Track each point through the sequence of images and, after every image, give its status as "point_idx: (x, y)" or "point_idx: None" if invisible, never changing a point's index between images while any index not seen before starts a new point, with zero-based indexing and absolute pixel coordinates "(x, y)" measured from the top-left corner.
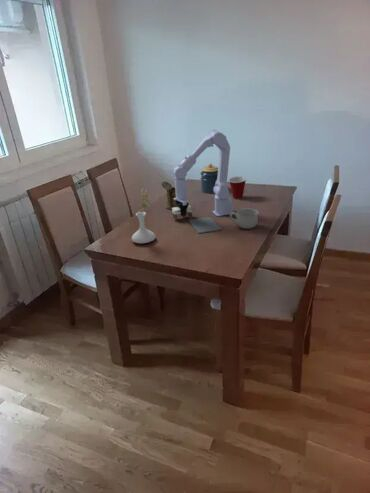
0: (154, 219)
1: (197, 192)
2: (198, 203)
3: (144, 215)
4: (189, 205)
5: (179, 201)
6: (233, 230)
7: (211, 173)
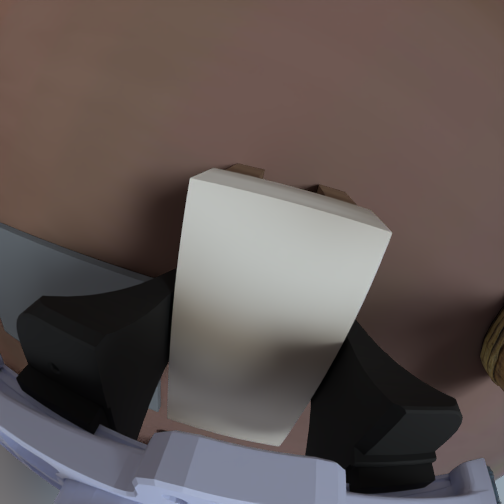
0: (429, 20)
1: (494, 455)
2: None
3: None
4: (272, 442)
5: (341, 444)
6: (8, 352)
7: None
